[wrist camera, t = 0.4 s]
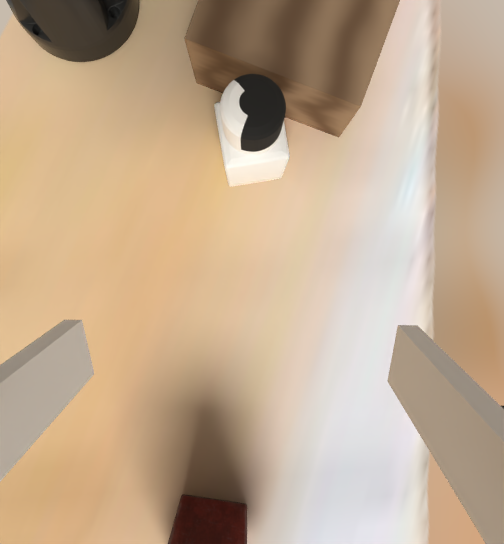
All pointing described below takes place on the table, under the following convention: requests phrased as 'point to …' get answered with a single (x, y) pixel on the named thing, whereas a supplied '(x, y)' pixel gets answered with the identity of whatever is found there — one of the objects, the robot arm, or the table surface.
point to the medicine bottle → (252, 130)
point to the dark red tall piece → (209, 522)
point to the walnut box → (294, 51)
